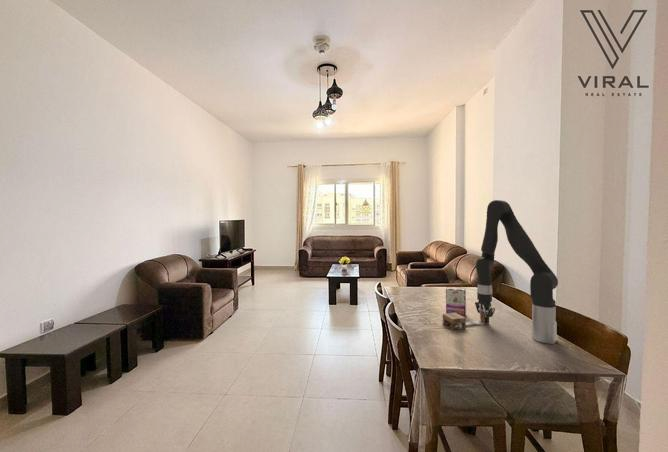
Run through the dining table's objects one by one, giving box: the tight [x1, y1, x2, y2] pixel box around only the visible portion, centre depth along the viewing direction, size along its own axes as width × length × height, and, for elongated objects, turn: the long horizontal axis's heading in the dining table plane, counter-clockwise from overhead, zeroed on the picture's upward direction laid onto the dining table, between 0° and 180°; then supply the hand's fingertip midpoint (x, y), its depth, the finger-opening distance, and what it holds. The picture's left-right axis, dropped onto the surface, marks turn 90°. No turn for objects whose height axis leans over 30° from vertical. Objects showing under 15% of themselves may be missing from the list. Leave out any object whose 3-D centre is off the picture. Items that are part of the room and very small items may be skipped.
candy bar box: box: [445, 286, 467, 318], centre depth 178 cm, size 11×5×16 cm, turn 62°
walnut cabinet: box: [442, 313, 467, 331], centre depth 159 cm, size 8×9×6 cm
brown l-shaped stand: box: [466, 311, 490, 327], centre depth 162 cm, size 15×4×6 cm, turn 102°
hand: (484, 322), depth 163 cm, fingers closed on brown l-shaped stand, 2 cm apart
